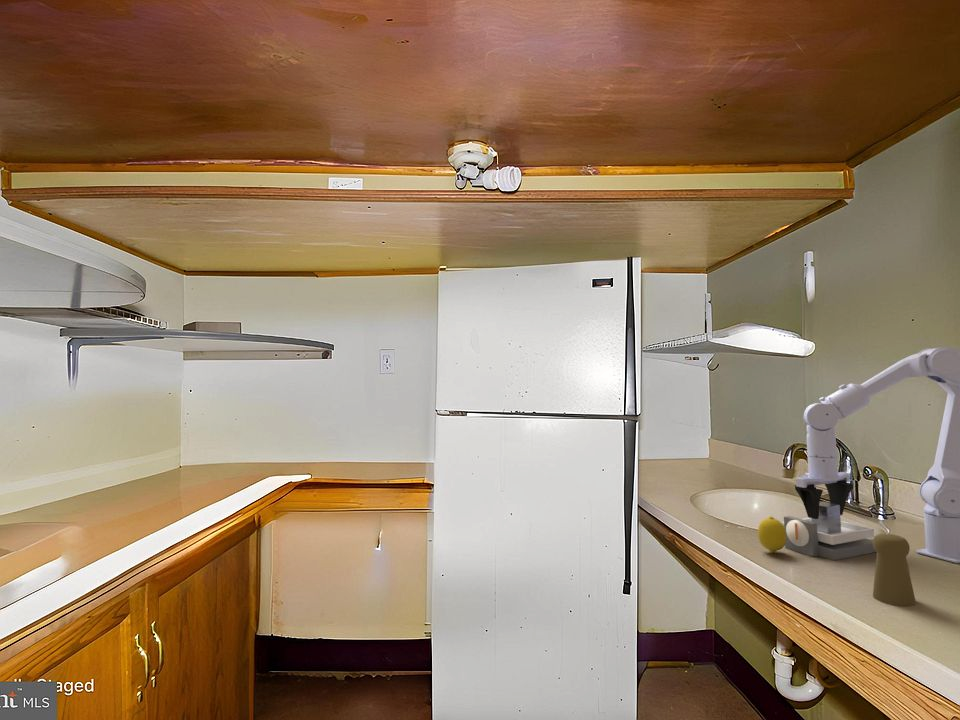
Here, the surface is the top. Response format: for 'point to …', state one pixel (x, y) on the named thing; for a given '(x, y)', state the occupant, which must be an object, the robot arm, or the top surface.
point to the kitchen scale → (827, 539)
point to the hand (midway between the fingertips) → (825, 516)
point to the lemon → (772, 534)
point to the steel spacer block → (828, 518)
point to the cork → (892, 571)
